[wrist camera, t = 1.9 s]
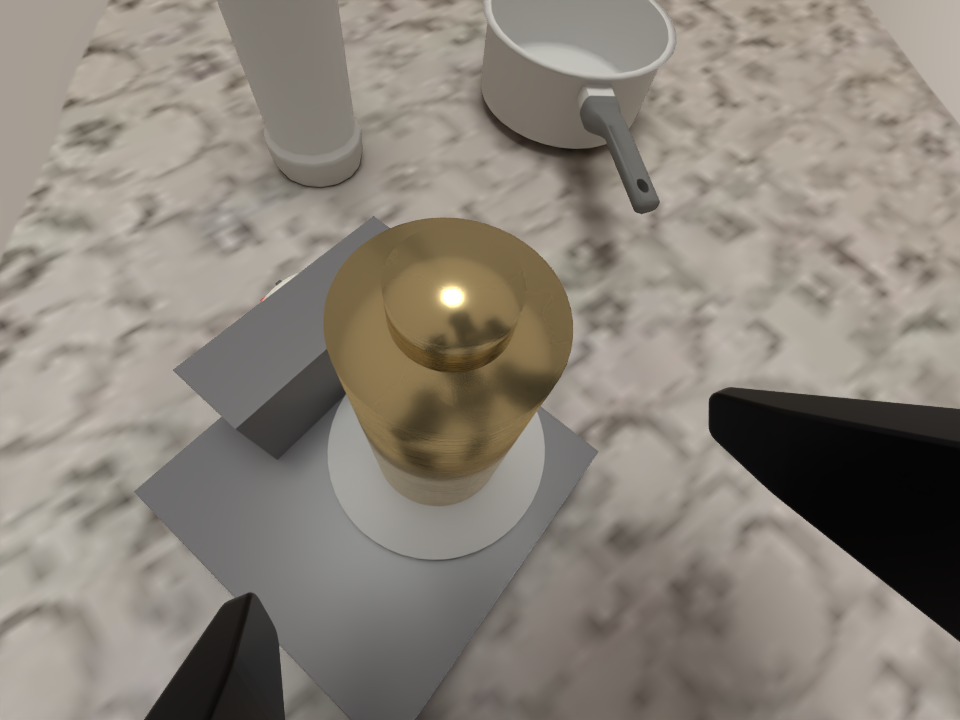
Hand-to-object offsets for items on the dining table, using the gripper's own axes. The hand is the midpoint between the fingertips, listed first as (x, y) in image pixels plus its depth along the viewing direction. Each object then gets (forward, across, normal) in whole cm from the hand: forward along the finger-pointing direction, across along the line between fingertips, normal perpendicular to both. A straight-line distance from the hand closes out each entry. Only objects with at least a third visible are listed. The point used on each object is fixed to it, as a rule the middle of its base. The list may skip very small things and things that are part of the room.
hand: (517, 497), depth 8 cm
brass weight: (+8, 0, +3) cm, 9 cm away
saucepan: (+22, -15, -5) cm, 27 cm away
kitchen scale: (+10, +2, +6) cm, 12 cm away
